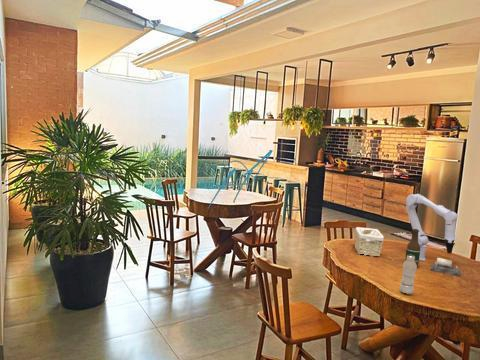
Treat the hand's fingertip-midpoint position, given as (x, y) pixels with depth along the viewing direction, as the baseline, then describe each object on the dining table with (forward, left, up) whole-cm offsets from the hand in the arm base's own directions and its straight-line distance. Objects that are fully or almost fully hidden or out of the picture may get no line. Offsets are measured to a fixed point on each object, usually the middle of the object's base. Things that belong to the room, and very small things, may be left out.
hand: (449, 251), depth 233 cm
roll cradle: (-1, -10, -10) cm, 14 cm away
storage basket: (-49, -2, -10) cm, 50 cm away
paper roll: (-2, 0, -10) cm, 10 cm away
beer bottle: (-20, -15, -10) cm, 27 cm away
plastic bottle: (-19, -64, -10) cm, 68 cm away
